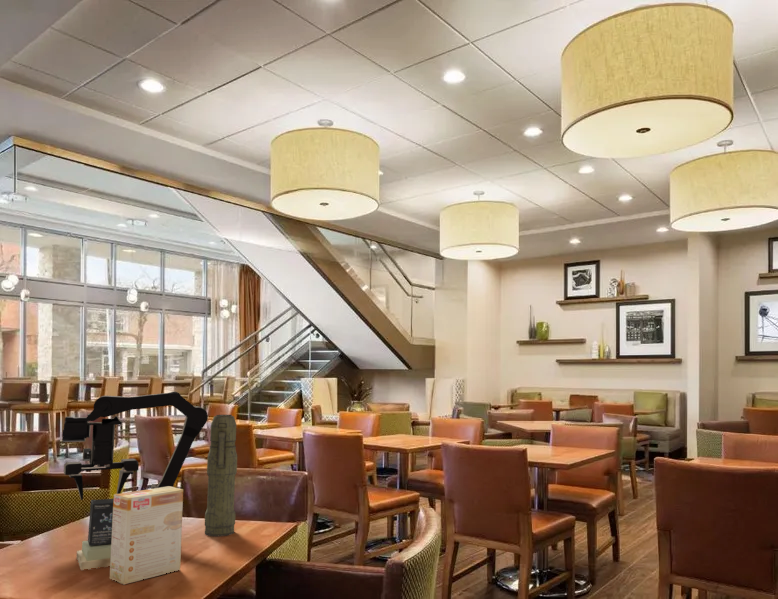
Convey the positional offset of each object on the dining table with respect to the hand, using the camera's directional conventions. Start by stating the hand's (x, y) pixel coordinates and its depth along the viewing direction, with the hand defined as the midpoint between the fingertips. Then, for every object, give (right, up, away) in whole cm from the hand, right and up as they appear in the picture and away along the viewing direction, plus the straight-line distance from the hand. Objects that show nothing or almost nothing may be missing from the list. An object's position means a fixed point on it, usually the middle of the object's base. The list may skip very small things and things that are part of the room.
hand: (99, 498), depth 184 cm
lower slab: (+7, -12, -14) cm, 20 cm away
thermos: (+29, -15, +16) cm, 36 cm away
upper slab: (+8, -10, -14) cm, 19 cm away
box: (+7, -8, -13) cm, 17 cm away
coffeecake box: (+22, -11, -25) cm, 35 cm away
